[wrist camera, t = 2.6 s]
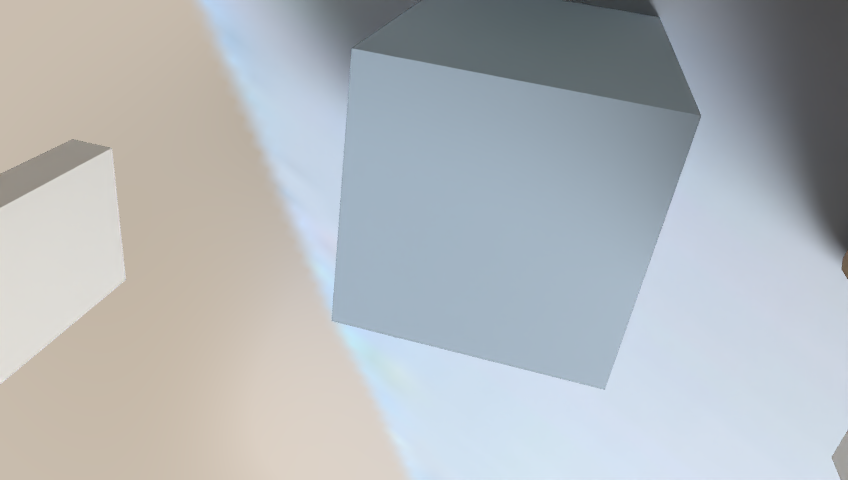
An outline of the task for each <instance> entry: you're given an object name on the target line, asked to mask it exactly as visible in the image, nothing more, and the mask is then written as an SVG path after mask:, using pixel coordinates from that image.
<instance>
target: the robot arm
mask: <svg viewBox="0 0 848 480" xmlns="http://www.w3.org/2000/svg"><path fill="white" fill-rule="evenodd" d="M125 280H126V277H125V268H124V258H123V248H122V239H121V230H120V220H119V210H118V201H117V192H116V182H115V172H114V163H113V154H112V148H110V147H105V146H101V145H96V144H92V143H87V142H83V141H78V140H74V139H72V140H70V141H68V142H66V143H64V144H62V145H60V146H57V147H55V148H53V149H51V150H49V151H47V152H45V153H43V154H41V155H39V156H37V157H34V158H32V159H30V160H28V161H26V162H24V163H22V164H20V165H18V166H16V167H14V168H11V169H10V170H7V171H5V172H3V173H1V174H0V384H1V383H2V382H4V381H5V380H6V379H7V378H8V377H10V376H11V375H12V374H13V373H14V372H16V371H17V370H18V369H19V368H20V367H21V366H23V365H24V364H25V363H26V362H28V361H29V360H30V359H31V358H32V357H34V356H35V355H36V354H37V353H38V352H39V351H41V350H42V349H43V348H44V347H46V346H47V345H48V344H49V343H50V342H51V341H53V340H54V339H55V338H56V337H58V336H59V335H60V334H61V333H62V332H64V331H65V330H66V329H67V328H68V327H70V326H71V325H72V324H73V323H74V322H76V321H77V320H78V319H79V318H80V317H81V316H83V315H84V314H85V313H86V312H88V311H89V310H90V309H91V308H92V307H94V306H95V305H96V304H97V303H98V302H100V301H101V300H102V299H103V298H104V297H105V296H107V295H108V294H109V293H110V292H112V291H113V290H114V289H115V288H116V287H118V286H119V285H120V284H121V283H122V282H124V281H125ZM832 460H833V462H834V465H835V467H836V469H837V472H838V474H839V477H840V479H841V480H848V431H847V432H846V434H845V436H844V437H843V439H842V441H841V442H840V444H839V446H838V447H837V449H836V451H835V452H834V454H833V456H832Z"/></svg>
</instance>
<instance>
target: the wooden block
mask: <svg viewBox="0 0 848 480" xmlns="http://www.w3.org/2000/svg"><path fill="white" fill-rule="evenodd" d="M842 271H843V272H844V274H845V276H846V277H847V279H848V250H847V252H846V254H845V256H844V257H843V261H842Z"/></svg>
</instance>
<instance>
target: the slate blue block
mask: <svg viewBox="0 0 848 480" xmlns="http://www.w3.org/2000/svg"><path fill="white" fill-rule="evenodd" d="M700 118H701V114H700V112H699V109H698V107H697V105H696V102H695V100H694V98H693V95H692V93H691V91H690V88H689V86H688V83H687V81H686V79H685V76H684V74H683V72H682V69H681V67H680V65H679V62H678V60H677V58H676V55H675V53H674V50H673V48H672V46H671V43H670V41H669V39H668V36H667V34H666V32H665V29H664V27H663V25H662V22H661V20H660V17H655V16H649V15H643V14H638V13H632V12H626V11H621V10H615V9H609V8H603V7H598V6H592V5H586V4H581V3H575V2H569V1H563V0H421V1H420V2H419V3H417V4H416V5H414V6H413V7H411V8H410V9H408V10H407V11H405V12H404V13H402V14H401V15H400V16H398V17H397V18H395V19H394V20H392V21H391V22H389V23H388V24H386V25H385V26H384V27H382V28H381V29H379V30H378V31H376V32H375V33H373V34H372V35H370V36H369V37H367V38H366V39H365V40H363V41H362V42H360V43H359V44H357V45H356V46H354V47H353V48H352V50H351V64H350V77H349V91H348V104H347V118H346V132H345V145H344V159H343V173H342V186H341V200H340V214H339V227H338V241H337V254H336V268H335V282H334V295H333V309H332V321H334V322H338V323H342V324H346V325H350V326H354V327H358V328H362V329H366V330H370V331H374V332H378V333H382V334H385V335H389V336H393V337H397V338H401V339H405V340H409V341H413V342H417V343H421V344H425V345H429V346H433V347H437V348H441V349H445V350H449V351H453V352H457V353H461V354H465V355H469V356H473V357H477V358H481V359H485V360H489V361H493V362H497V363H501V364H505V365H509V366H513V367H517V368H521V369H525V370H528V371H532V372H536V373H540V374H544V375H548V376H552V377H556V378H560V379H564V380H568V381H572V382H576V383H580V384H584V385H588V386H592V387H596V388H600V389H604V390H605V387H606V384H607V382H608V379H609V376H610V373H611V370H612V367H613V365H614V362H615V359H616V356H617V353H618V350H619V348H620V345H621V342H622V339H623V336H624V333H625V331H626V328H627V325H628V322H629V319H630V316H631V314H632V311H633V308H634V305H635V302H636V299H637V296H638V294H639V291H640V288H641V285H642V282H643V279H644V277H645V274H646V271H647V268H648V265H649V262H650V260H651V257H652V254H653V251H654V248H655V245H656V243H657V240H658V237H659V234H660V231H661V228H662V226H663V223H664V220H665V217H666V214H667V211H668V209H669V206H670V203H671V200H672V197H673V194H674V191H675V189H676V186H677V183H678V180H679V177H680V174H681V172H682V169H683V166H684V163H685V160H686V157H687V155H688V152H689V149H690V146H691V143H692V140H693V138H694V135H695V132H696V129H697V126H698V123H699V121H700Z"/></svg>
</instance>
